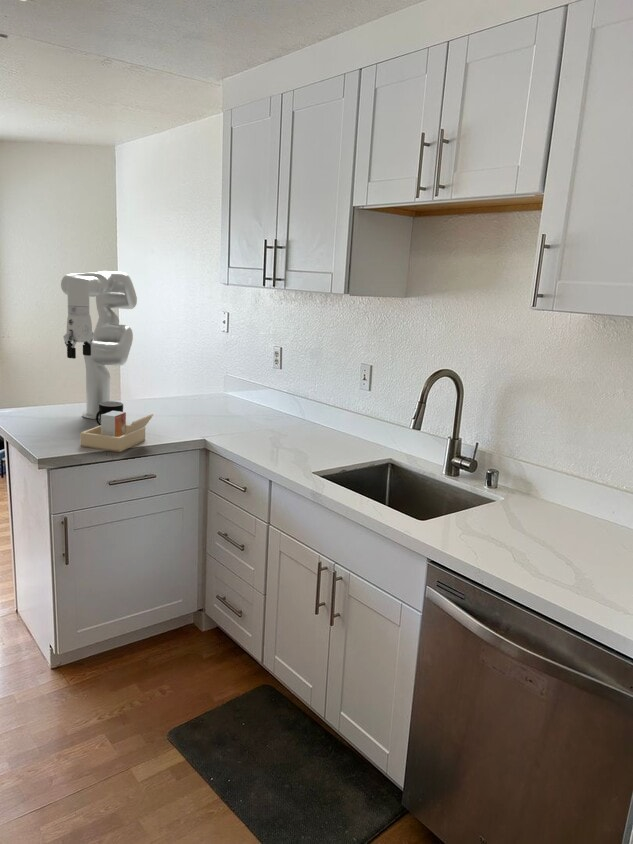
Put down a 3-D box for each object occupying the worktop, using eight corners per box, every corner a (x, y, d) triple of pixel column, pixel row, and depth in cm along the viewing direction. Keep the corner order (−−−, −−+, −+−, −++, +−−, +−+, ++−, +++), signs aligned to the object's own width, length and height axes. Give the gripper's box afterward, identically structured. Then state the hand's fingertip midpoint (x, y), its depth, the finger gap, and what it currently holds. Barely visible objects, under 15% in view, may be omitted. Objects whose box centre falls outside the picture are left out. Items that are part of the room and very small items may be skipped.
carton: (108, 434, 236) (108, 422, 235) (145, 440, 233) (145, 427, 231) (80, 446, 219) (80, 432, 217) (119, 452, 215) (119, 438, 214)
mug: (111, 424, 250) (111, 400, 248) (128, 428, 247) (128, 403, 244) (88, 430, 240) (87, 404, 238) (105, 434, 236) (104, 408, 234)
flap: (152, 413, 227) (153, 414, 227) (143, 426, 229) (144, 427, 229) (133, 421, 214) (134, 422, 214) (123, 434, 216) (124, 435, 216)
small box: (114, 445, 221) (114, 416, 219) (100, 443, 222) (100, 414, 220) (126, 439, 229) (126, 411, 227) (112, 437, 230) (112, 410, 228)
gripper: (73, 312, 221) (74, 360, 225) (100, 310, 237) (101, 355, 241) (55, 310, 223) (56, 358, 226) (83, 309, 239) (83, 353, 243)
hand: (79, 356), depth 234 cm, fingers open, 9 cm apart
